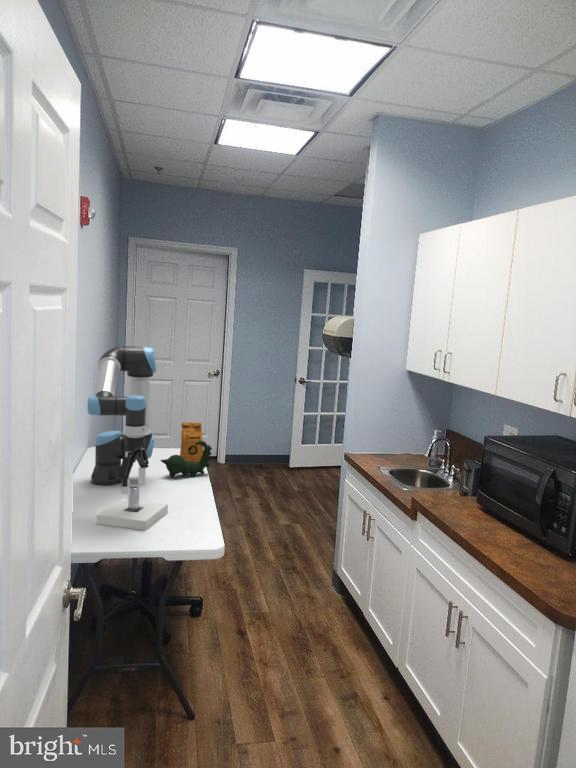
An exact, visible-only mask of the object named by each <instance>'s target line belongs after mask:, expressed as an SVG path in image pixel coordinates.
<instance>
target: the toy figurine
mask: <svg viewBox="0 0 576 768" xmlns="http://www.w3.org/2000/svg"><path fill="white" fill-rule="evenodd" d="M196 445H202V446H203V455H202V456H201V460H200V461H199V462H189V461H185V460H184V458H183V457H182V456H180V454H172V455H171V456H169V457H168V458H167V459H165V458H164V459H160V462H161V463H162V464H164V465H166V466H165V467H166V469H167V471H168V472H169V473H168V475H169V477H170V478H175V477H176V475H178V474H181V475H183V476H184V478H186V477H189V475H190V476H192V477H194V478H195V477H197V474H198V473H199V474H201V475H204V474H205V471H204V469H206V468H210V467H211V465H210V463H208V462H211V461H212V460H211V459H212V458H210V456H212V452H211V451H212V449H213V448H212V447H211V445H209V444H207V442H206V441H204V440H202V441H198V442H197V443H196V444H195V446H196Z"/></svg>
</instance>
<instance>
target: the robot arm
mask: <svg viewBox="0 0 576 768" xmlns="http://www.w3.org/2000/svg"><path fill="white" fill-rule="evenodd" d="M97 367H98V371H99V373H98V377H97V382H96V388H95V394H94V395H91V396H88V398H87V413H88V415H91V416H98V417H99V416H122V417H123V416H125V424H124V425H125V426H124V434H123V433H122V431H120V430H109V431H104V432H101V433H98V434H97V435H96V437H95V443H94V446H95V456H94V457H95V459H94V460H95V462H94V468H93V470H92V473H91V476H90V482H91V483H92V484H95V485H98V486H112V485H118V484H121V494H122V495H124V496H129V492H130V487H131V485H130V481H131V480H130V478H131V477H130V474H131V471H132V469H133V466H134V463H136V462H137V463H138V466H139V467H138V478H137V479H138V481H137V482H138V485H145V484H146V478H147V477H146V476H147V475H146V473H147V471H146V470H147V469H146V468H149V463H150V462H149V459H150V458H152V455H153V451H154V445H155V434H153V433H152V430H151V429H150V428H149V423H150V422H149V420H150V415H149V414H150V388H151V387H150V383H151V379H152V378H153V377H154V374H155V373H157V362H156V353H155V349H154V348H153V347H150V346H149V347H148V346H140V345H139V346H137V345H136V346H135V345H133V346H131V345H117V346H114V347H111V348H110V349H108V350H106V351H105V352H104V353H103V354H102V355H101V357H100V358H99V359H98V364H97ZM119 372H127V374H126V375H127V377H129V379H130V388H129V389H130V395H127V396H115V395H116V387H117V381H118V380H117V379H118V374H119Z"/></svg>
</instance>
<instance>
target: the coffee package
mask: <svg viewBox="0 0 576 768" xmlns="http://www.w3.org/2000/svg"><path fill="white" fill-rule="evenodd" d="M202 432H203V429H202V422H201V421H200V422H182V423H181V438H180V439H181V440H180V441H181V442H180V451H179V452H180V453H179V455H180V456H182V457H183V458H184V460H185V461H189V462H191V463H198V462H199V461H200V460H201V456H202V455H203V451H204V447H203V446H202V445H196V446H195V444H196V443H197V442H198V441H203V433H202Z"/></svg>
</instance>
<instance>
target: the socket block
mask: <svg viewBox="0 0 576 768" xmlns="http://www.w3.org/2000/svg"><path fill="white" fill-rule="evenodd" d="M168 506H169V503H162V502H155V501H146V500H140V499H139V512H129V511H128V498H124V497H123V498H121V499H119V500H117V501H116V502H114V503H113V504H111V505H110V506H108V507H106V508H105V509H103V510H101V511H100V512H98V513H97V514H96V517H95V518H96V519H95V521H96V524H97V525H105V526H112V527H118V528H126V529H133V530H142V531H147V530H149V528H150V527H152V526H153V525H155V523H156V522H158V521H159V520H160V519H161V518H163V517H164V516H165V515H166V514H168V511H169V510H168ZM157 520H158V521H157Z"/></svg>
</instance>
